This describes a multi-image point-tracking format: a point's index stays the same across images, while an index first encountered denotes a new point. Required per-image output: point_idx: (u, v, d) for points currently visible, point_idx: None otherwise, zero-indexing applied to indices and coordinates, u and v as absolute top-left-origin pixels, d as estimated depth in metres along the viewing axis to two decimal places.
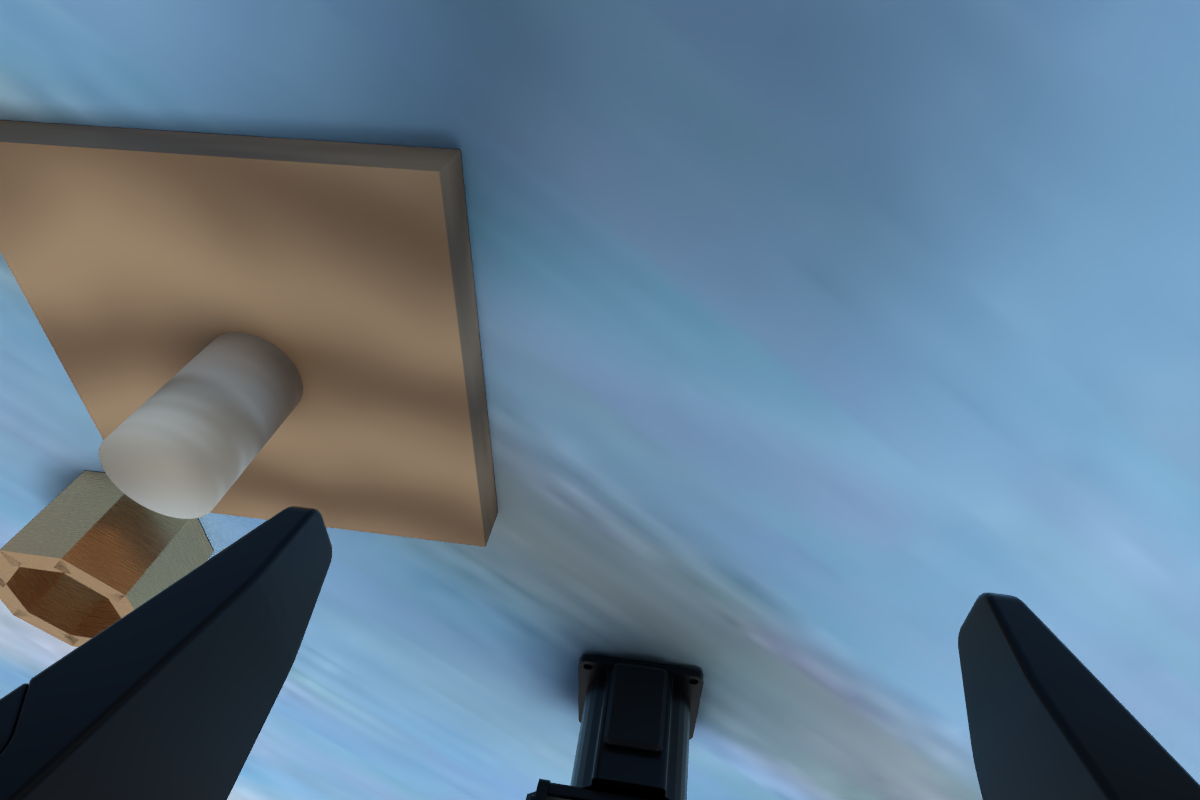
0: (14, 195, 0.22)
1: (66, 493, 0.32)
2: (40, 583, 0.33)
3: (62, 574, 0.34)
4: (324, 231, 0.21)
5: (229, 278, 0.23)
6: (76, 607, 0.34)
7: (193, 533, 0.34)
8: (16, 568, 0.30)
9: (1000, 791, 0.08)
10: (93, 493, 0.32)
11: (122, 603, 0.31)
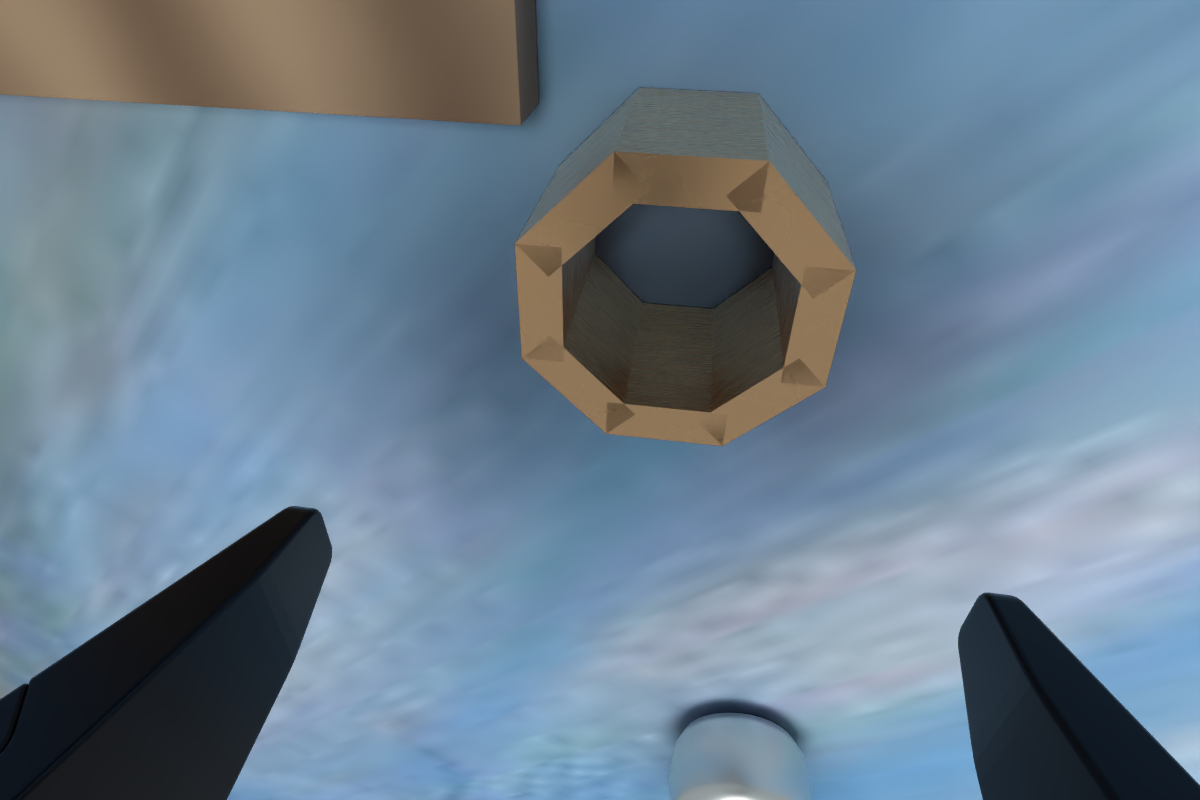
0: None
1: None
2: (683, 382, 0.17)
3: (708, 361, 0.18)
4: None
5: None
6: (758, 353, 0.17)
7: (674, 95, 0.17)
8: (570, 356, 0.16)
9: (1000, 791, 0.08)
10: None
11: (647, 175, 0.13)
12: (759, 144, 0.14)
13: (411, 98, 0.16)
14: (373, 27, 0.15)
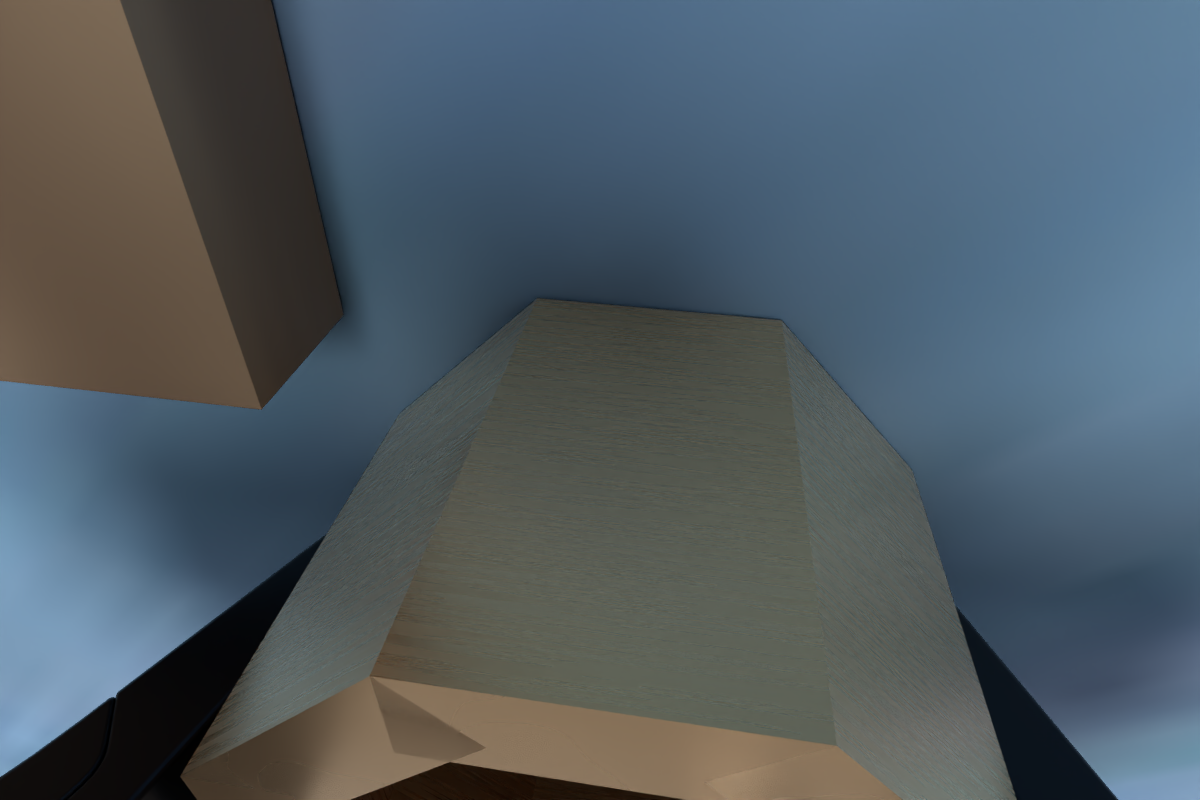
0: None
1: None
2: None
3: None
4: None
5: None
6: None
7: (603, 330, 0.08)
8: None
9: None
10: None
11: (475, 725, 0.05)
12: (798, 607, 0.05)
13: (20, 349, 0.07)
14: None
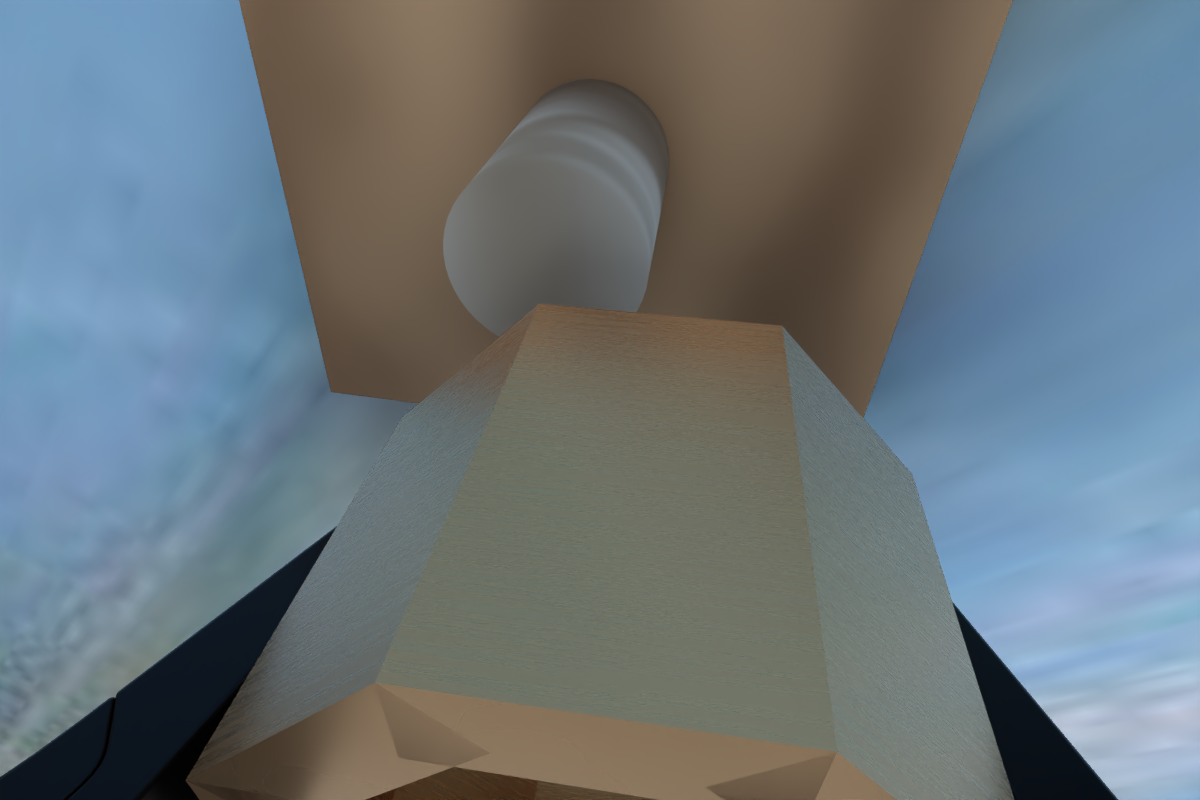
0: (375, 354, 0.21)
1: None
2: None
3: None
4: None
5: (430, 135, 0.16)
6: None
7: (605, 336, 0.08)
8: None
9: None
10: None
11: (479, 732, 0.05)
12: (799, 613, 0.05)
13: None
14: None
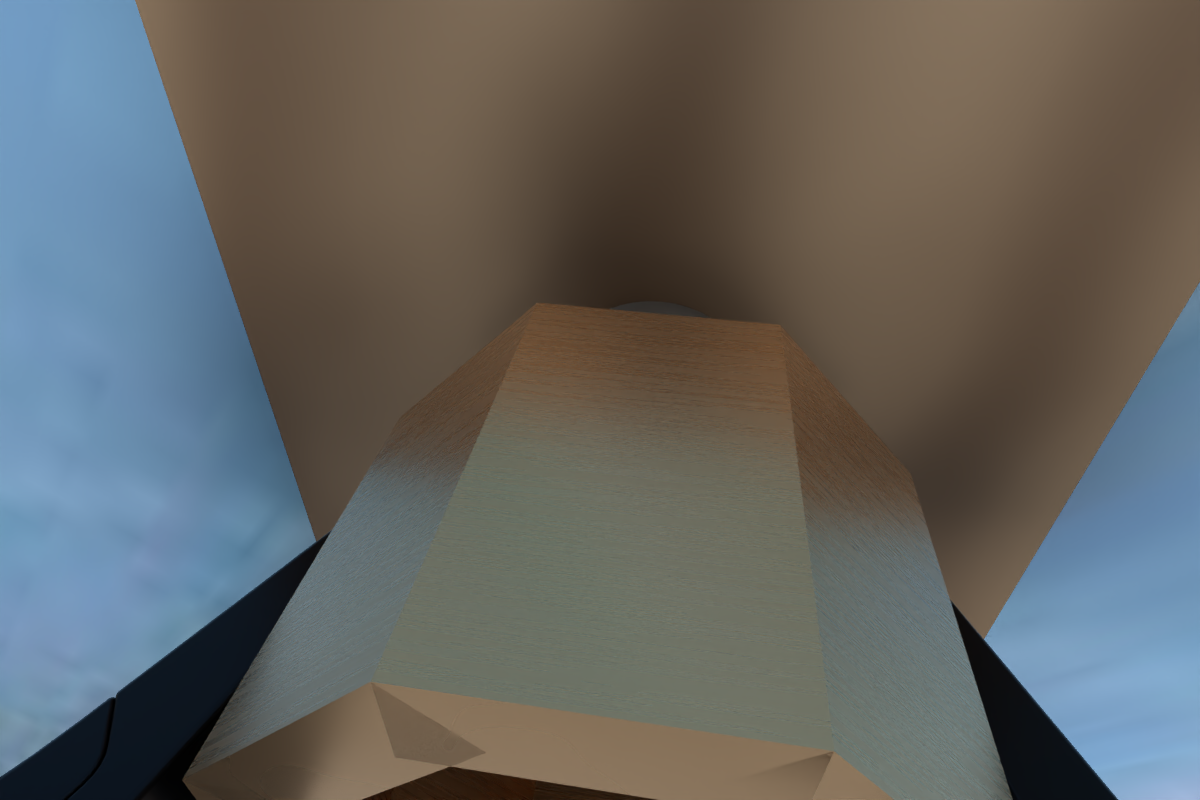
0: None
1: None
2: None
3: None
4: (303, 144, 0.11)
5: (449, 355, 0.13)
6: None
7: (603, 335, 0.08)
8: None
9: None
10: None
11: (475, 731, 0.05)
12: (796, 612, 0.05)
13: None
14: None
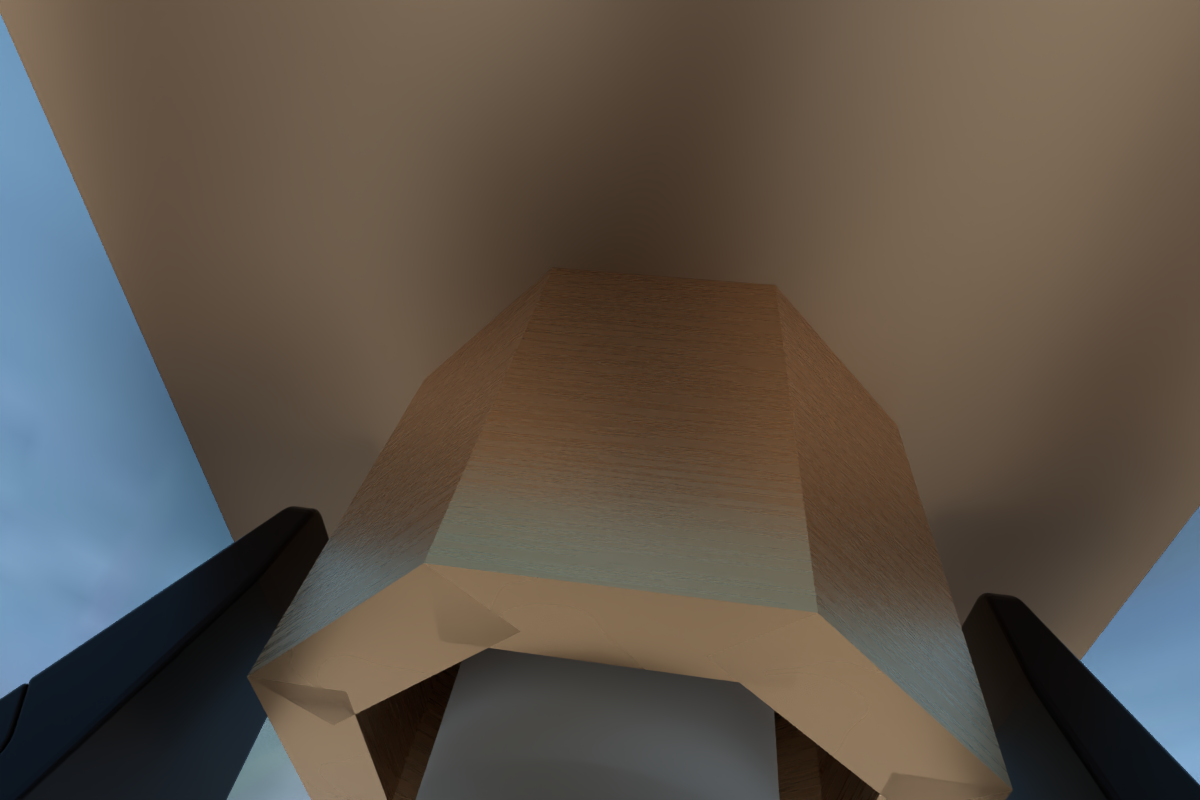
0: None
1: None
2: None
3: None
4: (221, 196, 0.09)
5: None
6: None
7: (614, 294, 0.09)
8: None
9: None
10: None
11: (511, 609, 0.05)
12: (787, 511, 0.06)
13: None
14: None
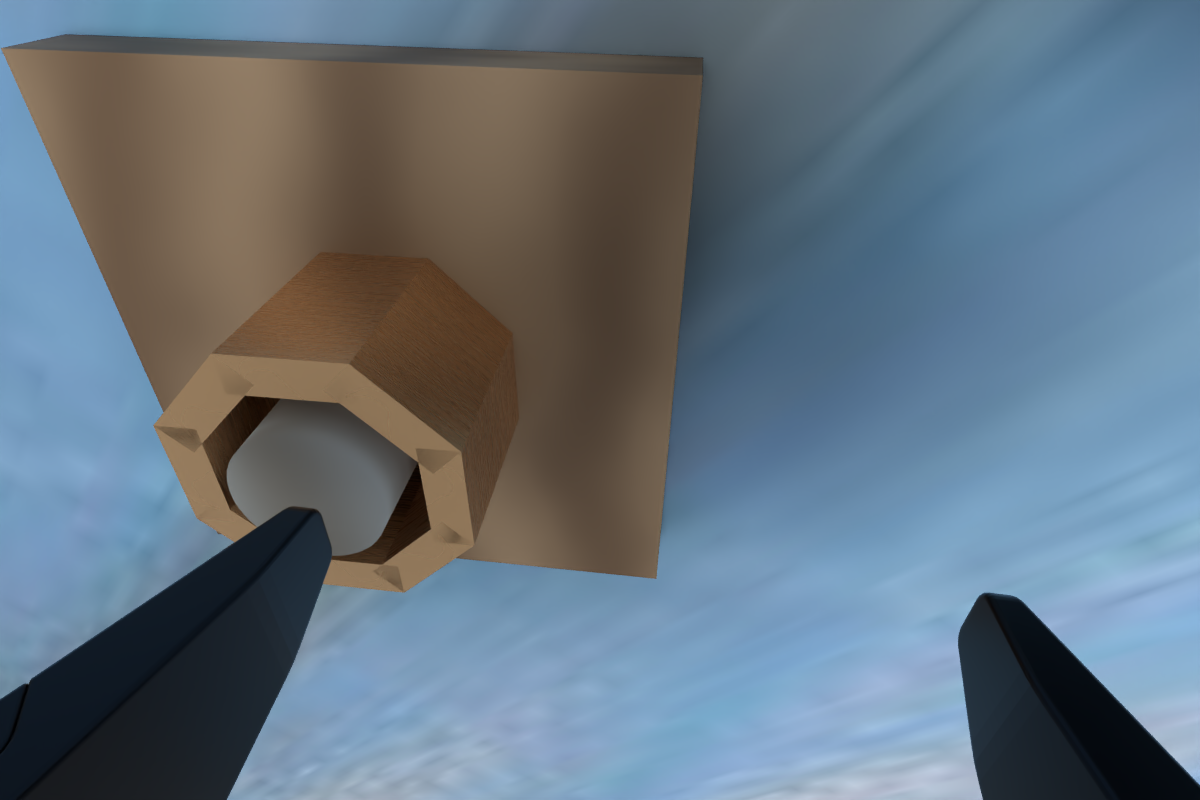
0: None
1: None
2: None
3: (407, 503, 0.19)
4: (150, 218, 0.18)
5: None
6: None
7: (344, 263, 0.17)
8: (238, 517, 0.17)
9: (1000, 791, 0.08)
10: None
11: (247, 373, 0.14)
12: (361, 338, 0.15)
13: (582, 562, 0.24)
14: (563, 531, 0.23)
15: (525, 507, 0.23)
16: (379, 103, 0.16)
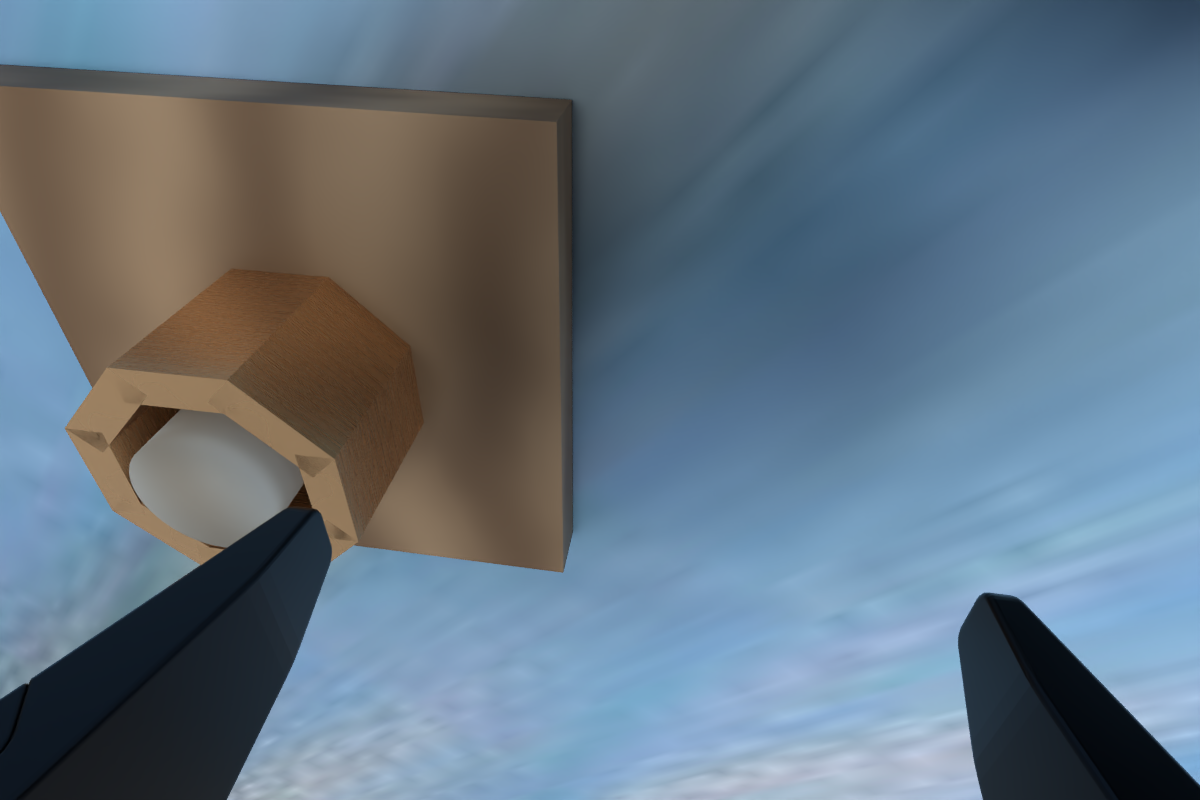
0: None
1: None
2: None
3: None
4: (76, 234, 0.20)
5: None
6: None
7: (249, 280, 0.19)
8: (149, 510, 0.19)
9: (1000, 791, 0.08)
10: None
11: (140, 385, 0.16)
12: (244, 355, 0.16)
13: (494, 555, 0.26)
14: (474, 526, 0.25)
15: (437, 504, 0.24)
16: (271, 138, 0.17)
